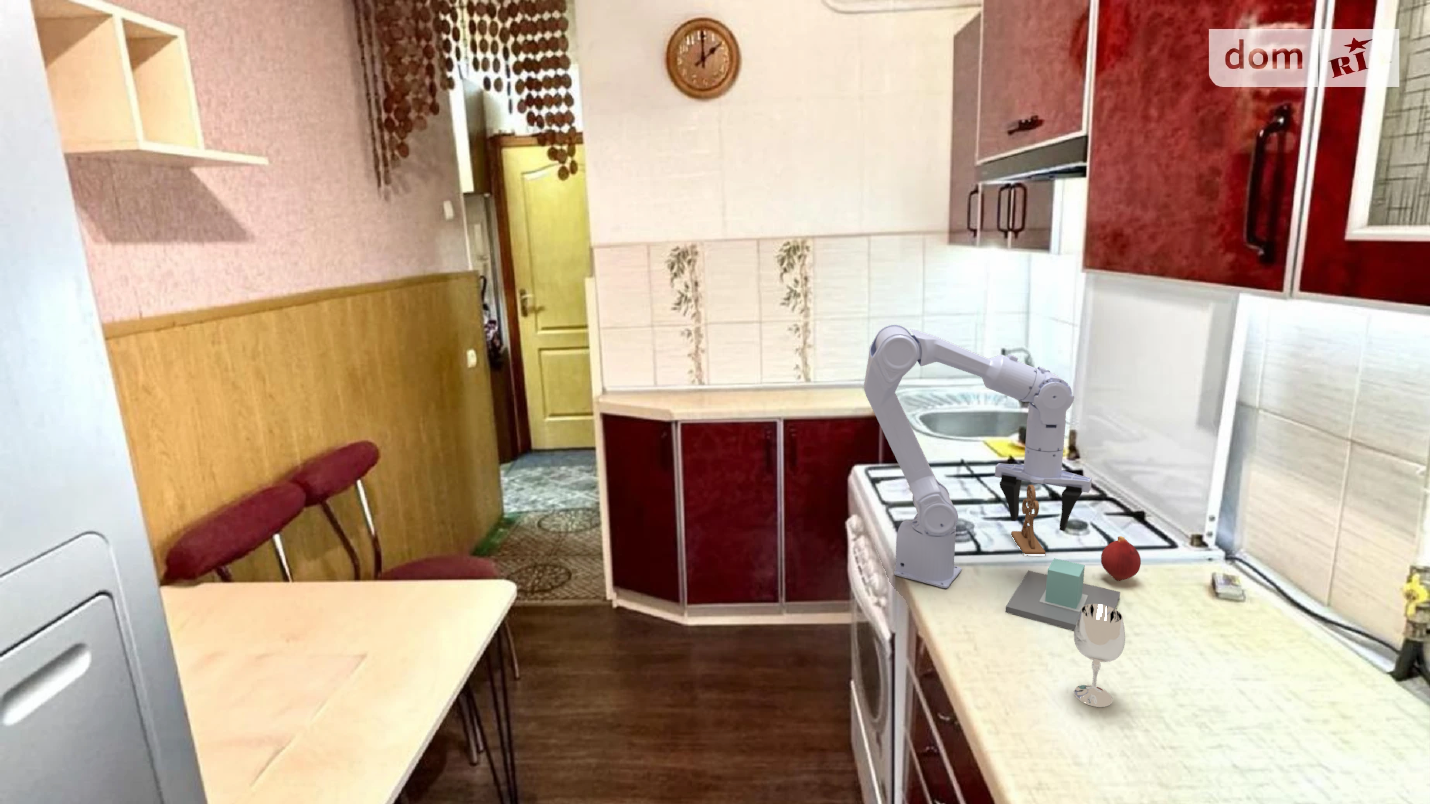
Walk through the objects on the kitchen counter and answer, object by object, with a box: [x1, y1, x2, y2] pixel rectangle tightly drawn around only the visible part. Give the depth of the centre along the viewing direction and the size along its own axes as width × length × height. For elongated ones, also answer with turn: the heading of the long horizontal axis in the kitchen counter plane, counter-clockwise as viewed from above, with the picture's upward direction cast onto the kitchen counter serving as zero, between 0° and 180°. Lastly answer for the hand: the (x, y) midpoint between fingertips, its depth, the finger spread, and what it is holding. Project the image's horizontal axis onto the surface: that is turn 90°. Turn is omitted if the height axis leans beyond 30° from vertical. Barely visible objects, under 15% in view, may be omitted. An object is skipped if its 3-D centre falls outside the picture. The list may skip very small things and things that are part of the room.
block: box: [1045, 558, 1086, 609], centre depth 117 cm, size 4×4×6 cm
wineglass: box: [1073, 604, 1126, 708], centre depth 94 cm, size 6×6×12 cm
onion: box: [1100, 535, 1142, 582], centre depth 123 cm, size 6×6×8 cm
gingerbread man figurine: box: [1010, 484, 1046, 555], centre depth 137 cm, size 9×4×12 cm, turn 173°
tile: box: [1005, 570, 1121, 631], centre depth 117 cm, size 14×14×1 cm
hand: (1038, 523), depth 124 cm, fingers open, 7 cm apart
